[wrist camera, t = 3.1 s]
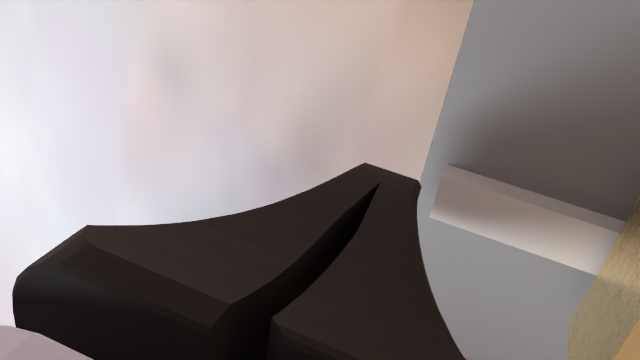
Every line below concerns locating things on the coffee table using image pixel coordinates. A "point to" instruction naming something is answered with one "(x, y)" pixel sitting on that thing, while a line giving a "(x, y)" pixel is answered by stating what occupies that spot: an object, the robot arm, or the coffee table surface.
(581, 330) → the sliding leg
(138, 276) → the robot arm
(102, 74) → the coffee table surface
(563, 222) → the pitch plate
